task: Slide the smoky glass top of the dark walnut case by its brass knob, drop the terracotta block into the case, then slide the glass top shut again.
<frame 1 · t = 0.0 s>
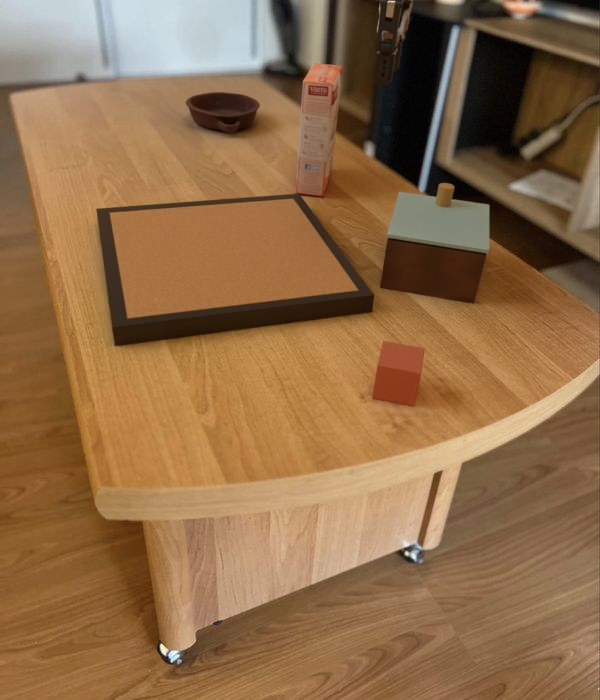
hand: (386, 77, 89), 27 cm above the table, tool pointing down, fingers open, 8 cm apart
case: (430, 270, 100), on the table
glass top: (442, 211, 94), point 10 cm above the table, slide at 0.0 cm
cork board: (223, 265, 98), on the table
dish: (223, 124, 153), on the table
block: (395, 389, 76), on the table
cracker box: (315, 183, 126), on the table
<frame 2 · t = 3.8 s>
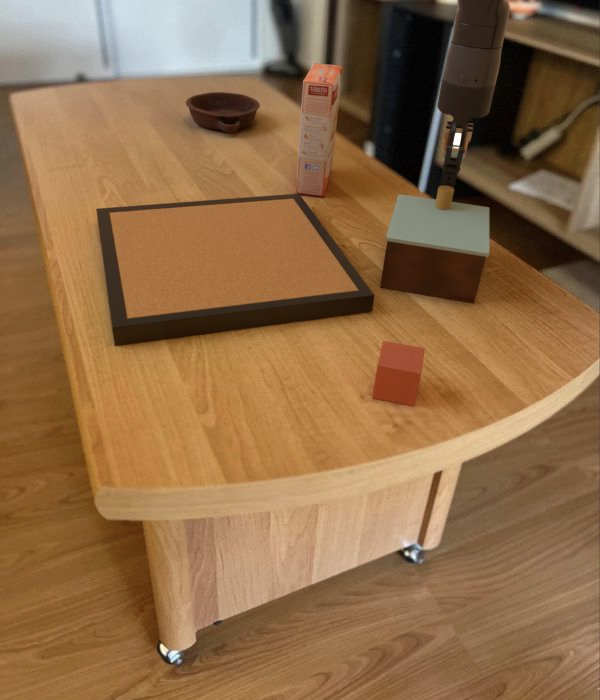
hand: (445, 192, 100), 10 cm above the table, tool pointing down, fingers closed
glass top: (442, 213, 94), point 10 cm above the table, slide at 1.1 cm, touching gripper
everything else where it was.
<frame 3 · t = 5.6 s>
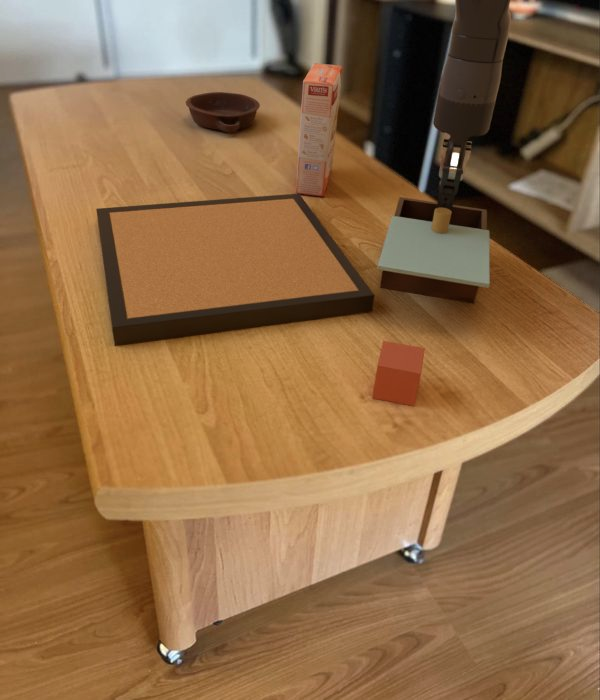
hand: (442, 214, 94), 10 cm above the table, tool pointing down, fingers closed
glass top: (438, 239, 87), point 10 cm above the table, slide at 9.6 cm, touching gripper
everything else where it was.
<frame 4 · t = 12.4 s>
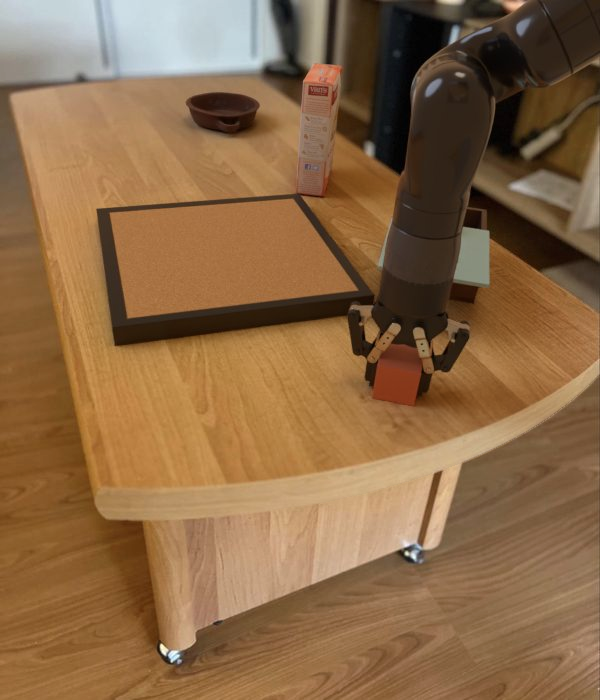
hand: (396, 386, 76), 0 cm above the table, tool pointing down, fingers closed on block, 5 cm apart
glass top: (438, 239, 87), point 10 cm above the table, slide at 9.7 cm
block: (395, 389, 76), on the table, touching gripper
everything else where it was.
when the fingers open (9 cm above the table, at t = 18.7 s): block drops 8 cm, resting on case.
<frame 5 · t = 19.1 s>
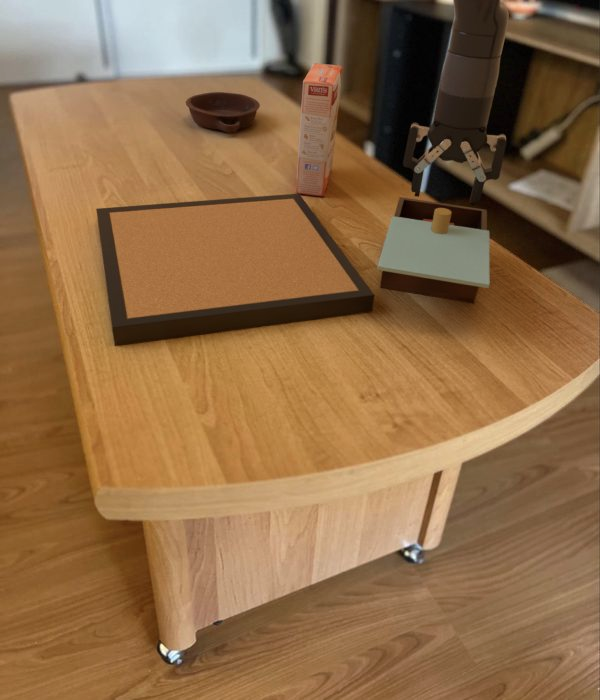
hand: (444, 198, 97), 11 cm above the table, tool pointing down, fingers open, 8 cm apart
block: (432, 255, 103), point 1 cm above the table, touching case
everything else where it was.
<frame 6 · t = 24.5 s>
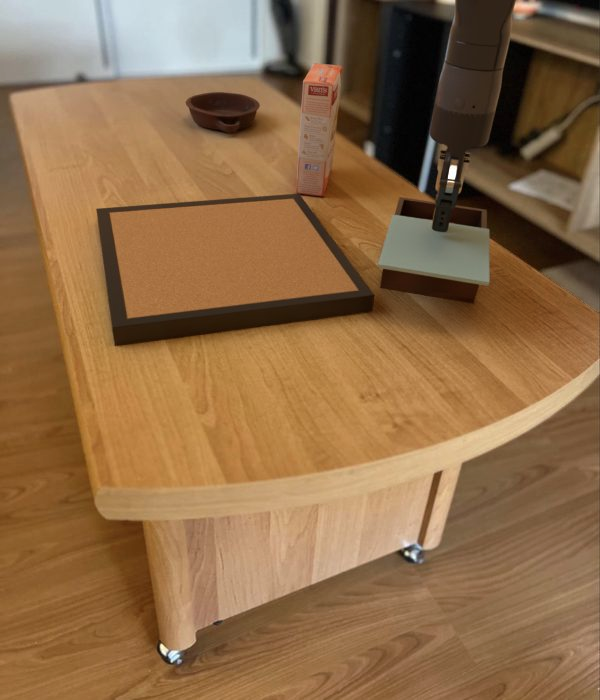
hand: (439, 229, 89), 10 cm above the table, tool pointing down, fingers closed
glass top: (438, 237, 87), point 10 cm above the table, slide at 9.1 cm
everything else where it was.
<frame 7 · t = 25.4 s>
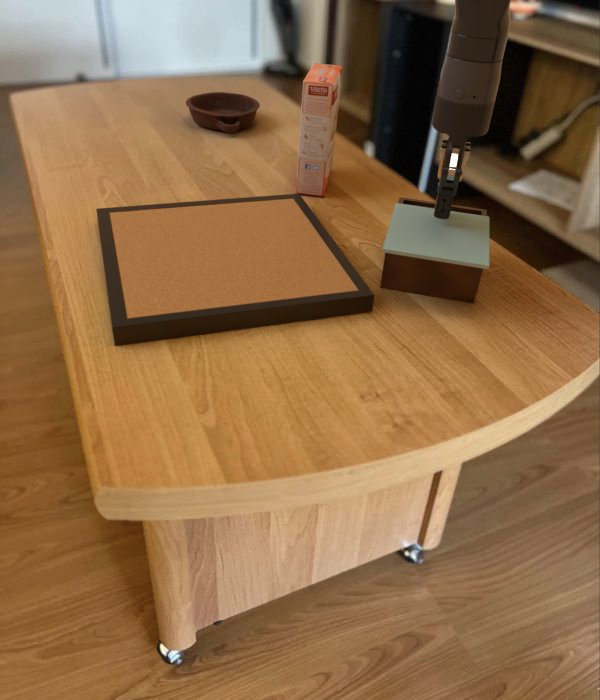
hand: (441, 216, 93), 10 cm above the table, tool pointing down, fingers closed
glass top: (440, 224, 91), point 10 cm above the table, slide at 4.6 cm, touching gripper
everything else where it was.
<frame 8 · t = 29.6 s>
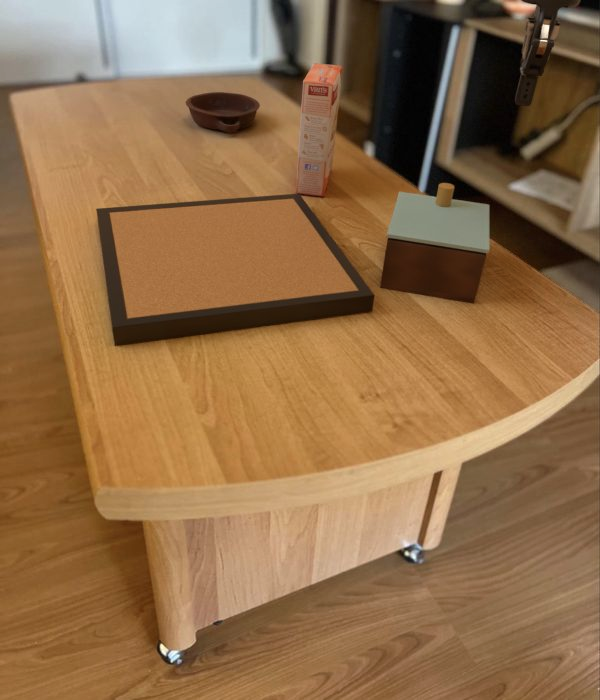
hand: (522, 104, 89), 25 cm above the table, tool pointing down, fingers closed
glass top: (442, 210, 94), point 10 cm above the table, slide at 0.0 cm
everything else where it was.
at the end: glass top pulled out 9.7 cm at the most during the clip, back to where it started at the end; block inside the target area on the case (3.5 cm from its centre), point 0.8 cm above the case's base; glass top slide at 0.0 cm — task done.
